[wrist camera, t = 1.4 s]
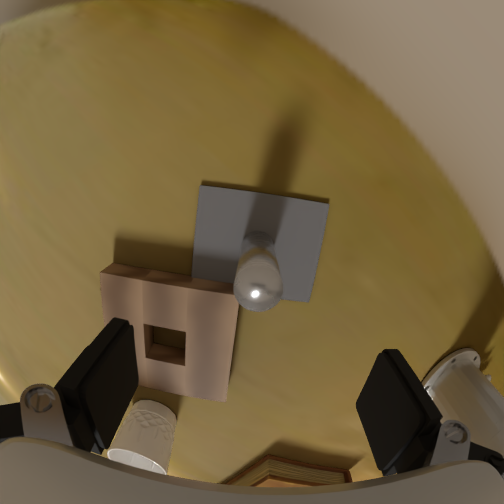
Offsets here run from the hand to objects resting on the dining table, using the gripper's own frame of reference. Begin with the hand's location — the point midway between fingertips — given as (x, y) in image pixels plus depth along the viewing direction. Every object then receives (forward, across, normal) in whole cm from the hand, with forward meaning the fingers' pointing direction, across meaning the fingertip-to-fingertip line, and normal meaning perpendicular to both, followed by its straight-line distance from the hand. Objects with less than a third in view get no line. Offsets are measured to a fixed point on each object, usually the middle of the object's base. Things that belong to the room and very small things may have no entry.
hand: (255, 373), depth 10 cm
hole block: (+18, +8, +11) cm, 23 cm away
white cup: (+18, +11, +27) cm, 34 cm away
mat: (+18, 0, 0) cm, 18 cm away
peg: (+18, 0, 0) cm, 18 cm away
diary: (+19, -11, +48) cm, 53 cm away
